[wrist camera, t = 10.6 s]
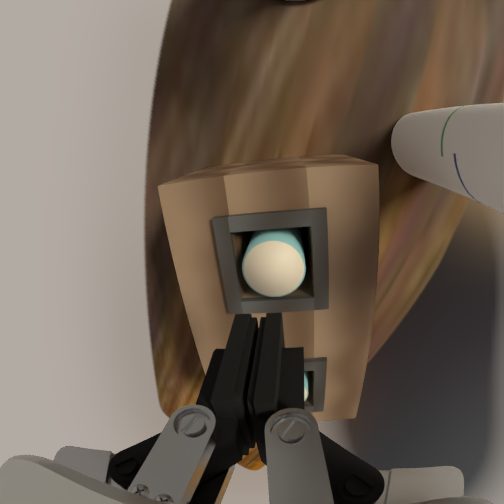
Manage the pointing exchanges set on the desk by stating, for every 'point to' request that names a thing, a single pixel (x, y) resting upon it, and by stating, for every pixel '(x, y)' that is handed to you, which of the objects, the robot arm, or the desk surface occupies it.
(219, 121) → the desk surface
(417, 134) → the cylindrical container
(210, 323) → the walnut block
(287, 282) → the peg
